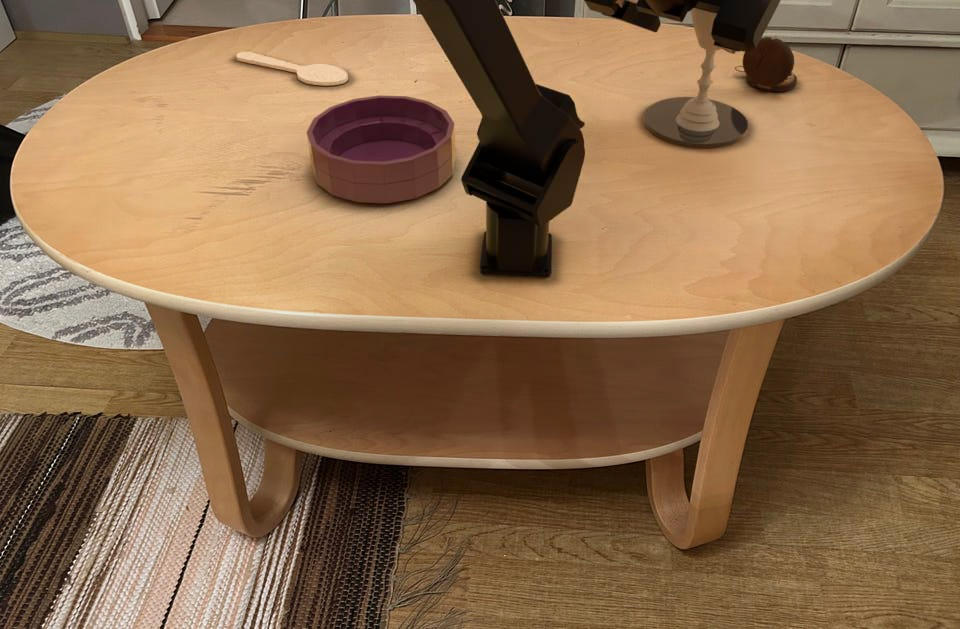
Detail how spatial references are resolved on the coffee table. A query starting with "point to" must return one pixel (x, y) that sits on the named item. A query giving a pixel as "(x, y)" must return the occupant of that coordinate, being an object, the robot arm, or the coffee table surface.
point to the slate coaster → (665, 127)
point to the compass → (770, 65)
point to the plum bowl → (382, 148)
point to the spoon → (299, 69)
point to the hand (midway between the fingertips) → (695, 38)
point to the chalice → (702, 79)
